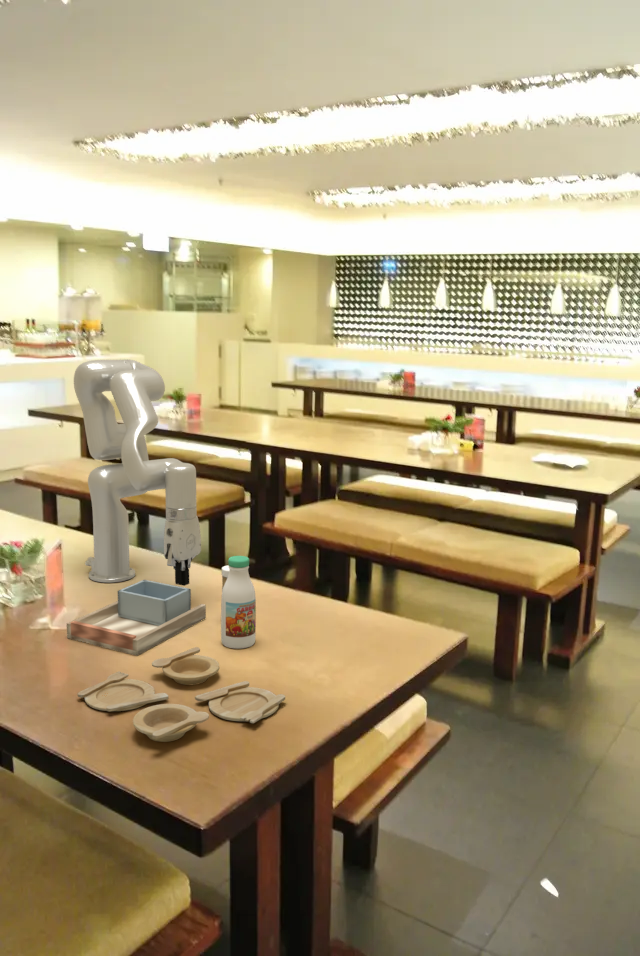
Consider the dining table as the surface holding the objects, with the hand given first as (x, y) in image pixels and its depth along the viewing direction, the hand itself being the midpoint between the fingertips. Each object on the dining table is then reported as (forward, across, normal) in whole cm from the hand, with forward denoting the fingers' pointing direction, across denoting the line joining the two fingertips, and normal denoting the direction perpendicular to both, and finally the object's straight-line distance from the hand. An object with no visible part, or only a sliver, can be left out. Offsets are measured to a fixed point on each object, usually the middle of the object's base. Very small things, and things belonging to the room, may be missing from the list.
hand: (182, 583), depth 209 cm
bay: (+6, -17, 0) cm, 18 cm away
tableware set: (+7, -43, -31) cm, 53 cm away
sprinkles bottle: (+6, -2, -16) cm, 17 cm away
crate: (+5, -11, 0) cm, 12 cm away
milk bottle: (+6, -13, -25) cm, 29 cm away
